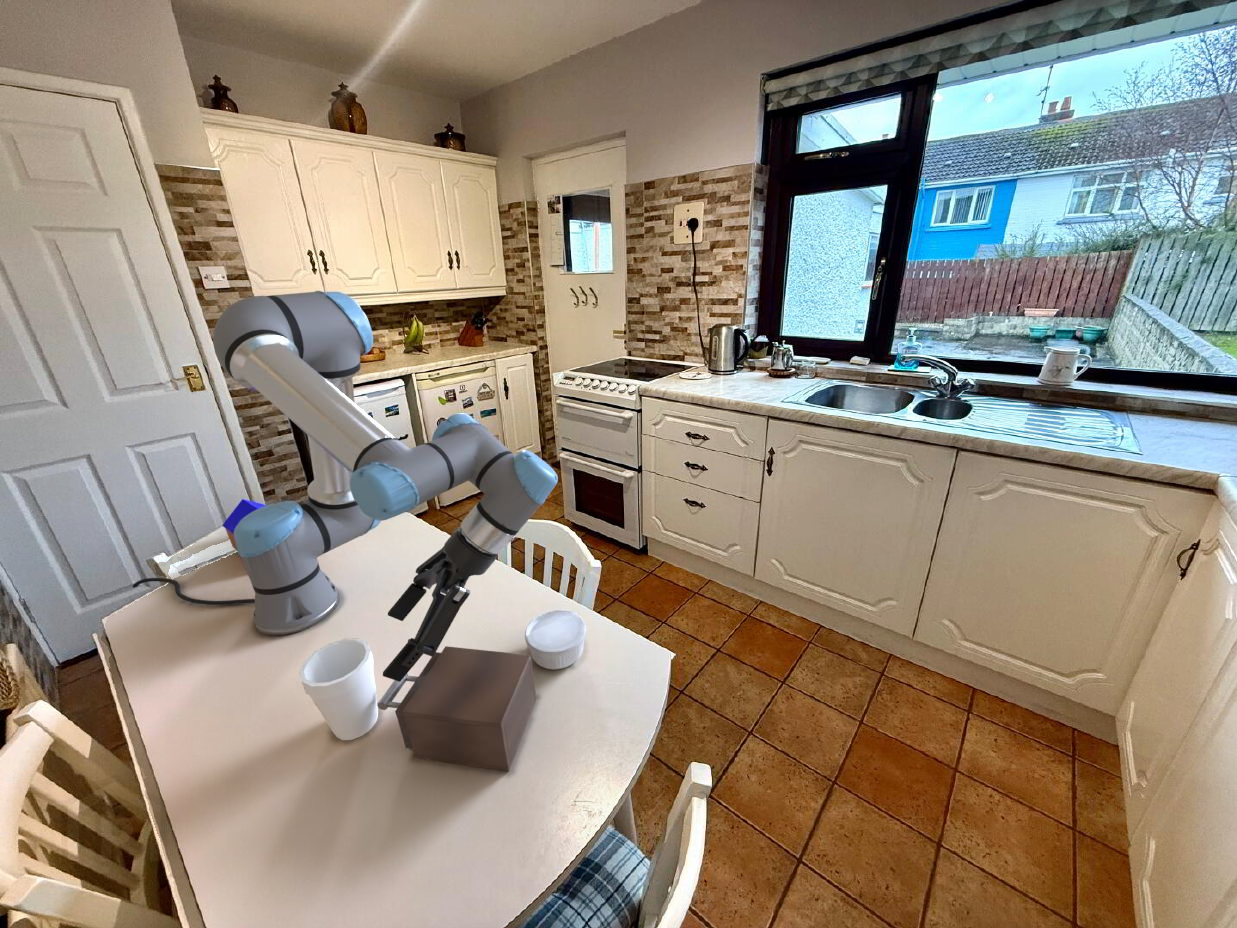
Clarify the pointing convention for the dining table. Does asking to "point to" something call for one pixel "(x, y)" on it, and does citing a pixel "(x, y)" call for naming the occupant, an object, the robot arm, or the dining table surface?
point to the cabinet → (472, 708)
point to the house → (239, 517)
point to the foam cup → (343, 686)
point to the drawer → (395, 688)
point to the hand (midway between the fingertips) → (393, 644)
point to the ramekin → (556, 638)
